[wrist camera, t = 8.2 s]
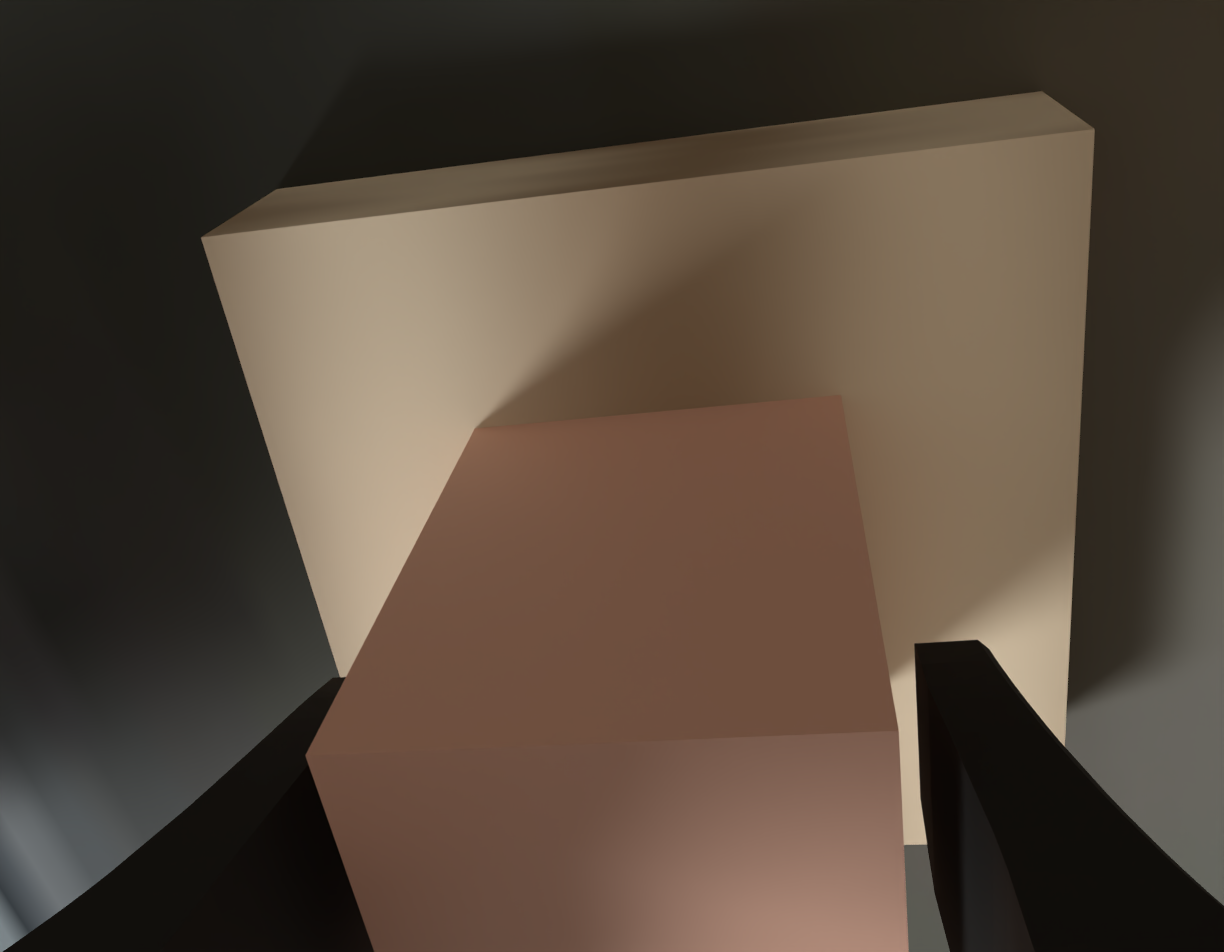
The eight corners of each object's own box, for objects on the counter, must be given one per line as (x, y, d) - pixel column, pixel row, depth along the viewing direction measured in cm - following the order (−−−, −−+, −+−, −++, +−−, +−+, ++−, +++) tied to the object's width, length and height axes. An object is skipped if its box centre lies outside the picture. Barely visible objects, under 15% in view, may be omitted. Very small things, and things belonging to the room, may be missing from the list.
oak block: (442, 728, 20) (396, 855, 18) (292, 178, 16) (200, 237, 13) (1017, 706, 19) (1059, 841, 16) (1030, 83, 14) (1094, 128, 12)
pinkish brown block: (538, 712, 16) (433, 1118, 11) (474, 428, 14) (305, 756, 9) (860, 696, 15) (916, 1125, 10) (840, 394, 13) (897, 730, 8)
